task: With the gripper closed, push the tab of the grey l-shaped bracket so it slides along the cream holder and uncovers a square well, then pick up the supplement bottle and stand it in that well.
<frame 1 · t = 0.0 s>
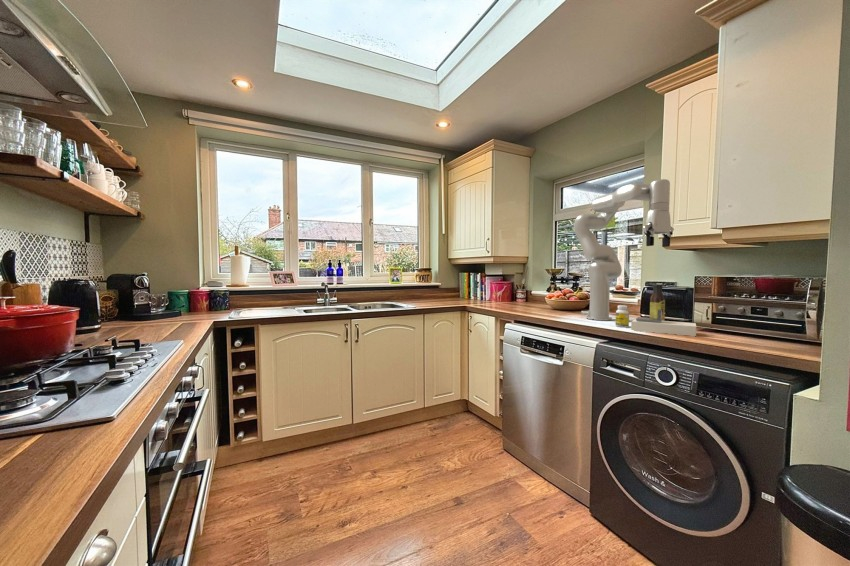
hand: (658, 246, 154), 37 cm above the countertop, tool pointing down, fingers open, 9 cm apart
supplement bottle: (622, 326, 160), on the countertop
holder: (662, 331, 146), on the countertop
grey l-shaped bracket: (649, 315, 149), point 7 cm above the countertop, slide at 0.0 cm
sauce bottle: (656, 323, 171), on the countertop
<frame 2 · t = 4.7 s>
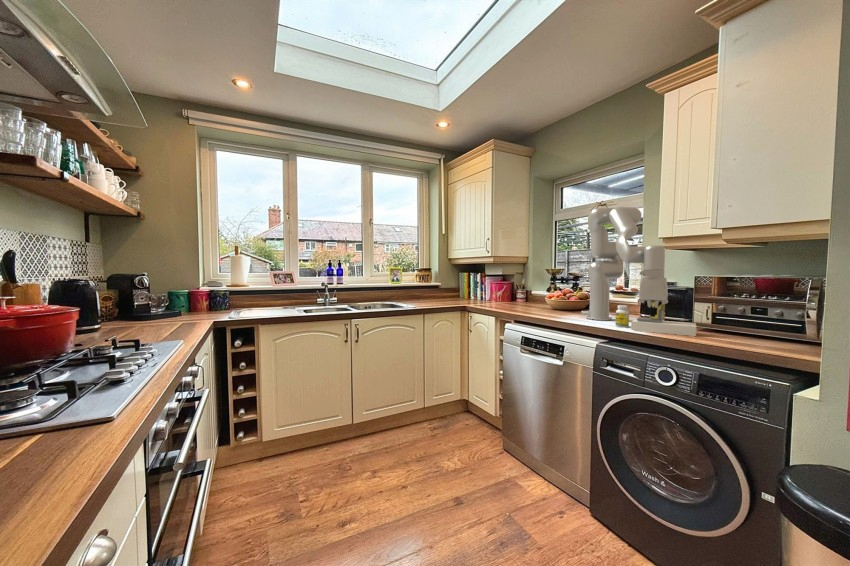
hand: (652, 316, 148), 6 cm above the countertop, tool pointing down, fingers closed
grey l-shaped bracket: (650, 315, 149), point 7 cm above the countertop, slide at 0.3 cm, touching gripper
everything else where it was.
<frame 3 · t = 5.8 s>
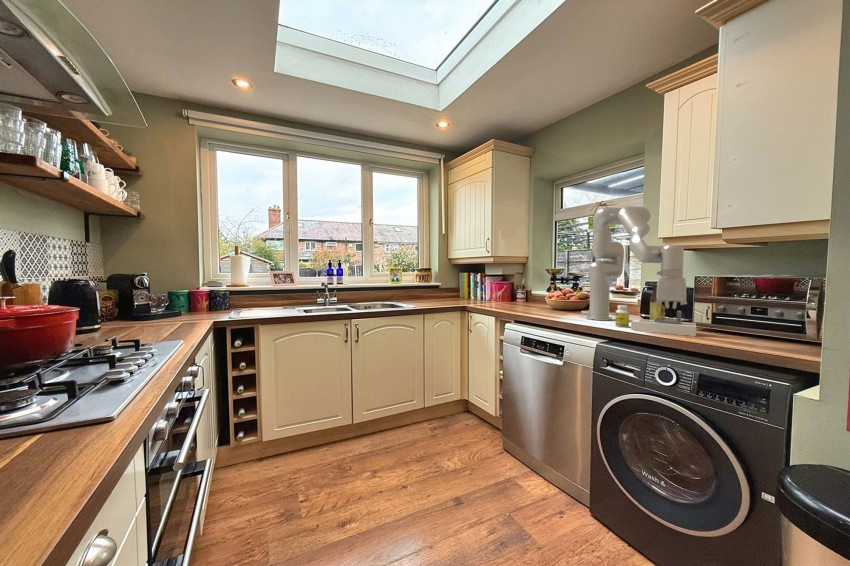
hand: (670, 317, 144), 6 cm above the countertop, tool pointing down, fingers closed
grey l-shaped bracket: (668, 316, 145), point 7 cm above the countertop, slide at 6.7 cm, touching gripper
everything else where it was.
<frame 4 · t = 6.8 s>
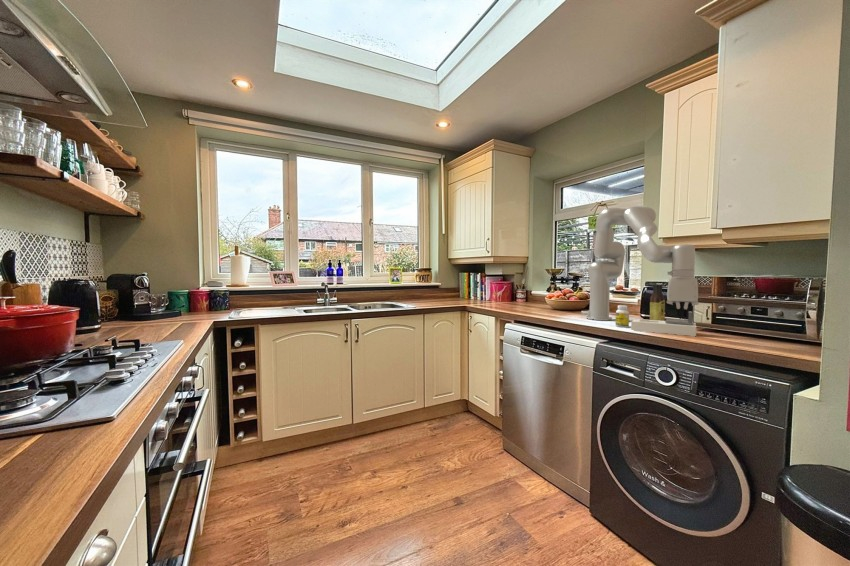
hand: (681, 318, 142), 6 cm above the countertop, tool pointing down, fingers closed
grey l-shaped bracket: (679, 317, 143), point 7 cm above the countertop, slide at 10.4 cm, touching gripper
everything else where it was.
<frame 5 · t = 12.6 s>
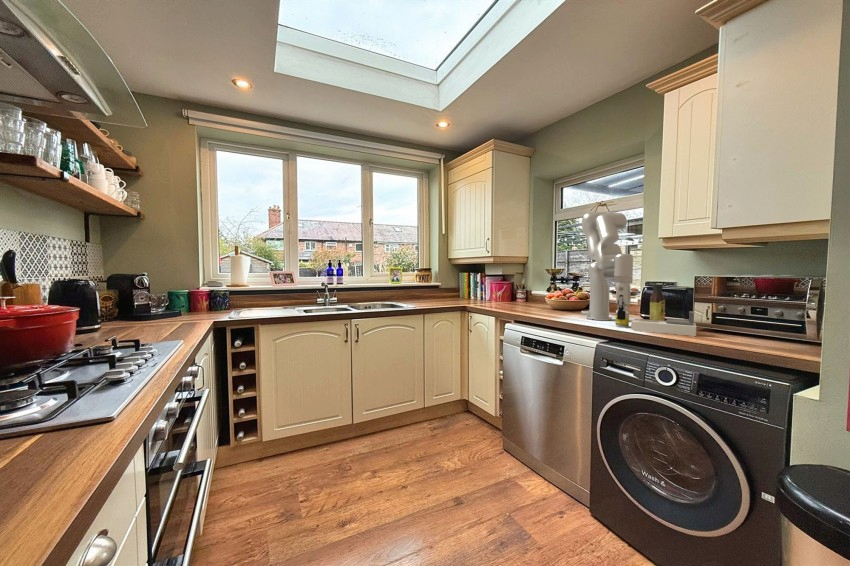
hand: (622, 318, 160), 4 cm above the countertop, tool pointing down, fingers closed on supplement bottle, 5 cm apart
supplement bottle: (622, 326, 160), on the countertop, touching gripper
grey l-shaped bracket: (679, 317, 142), point 7 cm above the countertop, slide at 10.7 cm
everything else where it was.
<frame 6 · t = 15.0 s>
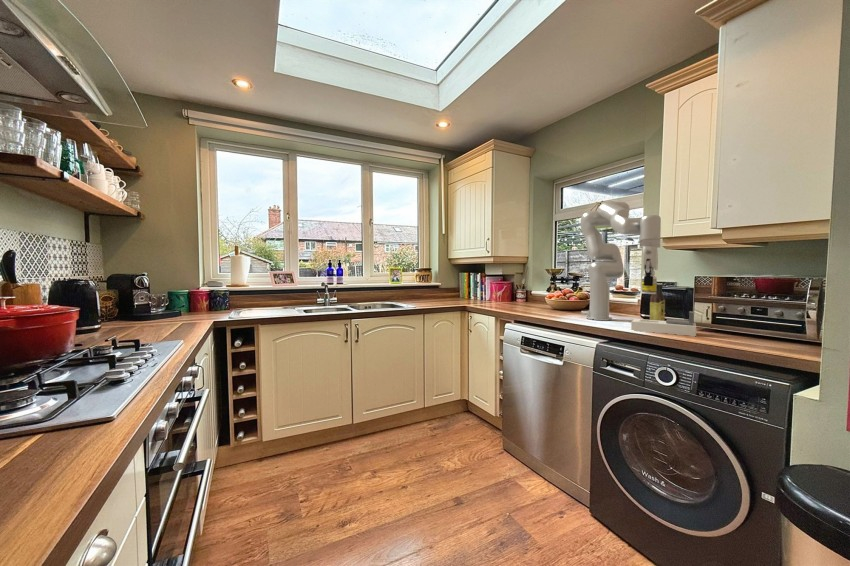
hand: (649, 285, 149), 20 cm above the countertop, tool pointing down, fingers closed on supplement bottle, 5 cm apart
supplement bottle: (648, 294, 149), point 16 cm above the countertop, touching gripper
everything else where it was.
when the fingers open (5 cm above the countertop, at t = 17.4 s): supplement bottle drops 1 cm, resting in holder.
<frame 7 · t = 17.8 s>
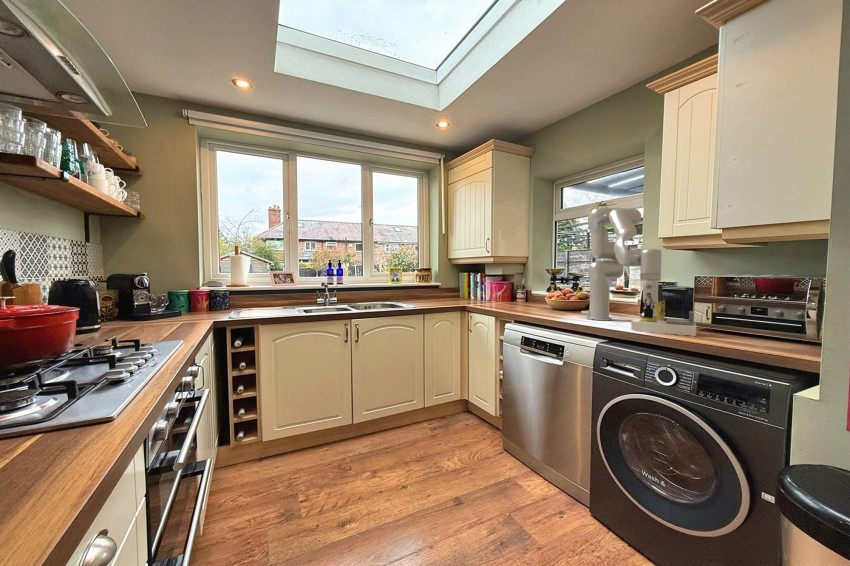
hand: (649, 316, 149), 6 cm above the countertop, tool pointing down, fingers open, 9 cm apart
supplement bottle: (648, 330, 149), resting in holder
everything else where it was.
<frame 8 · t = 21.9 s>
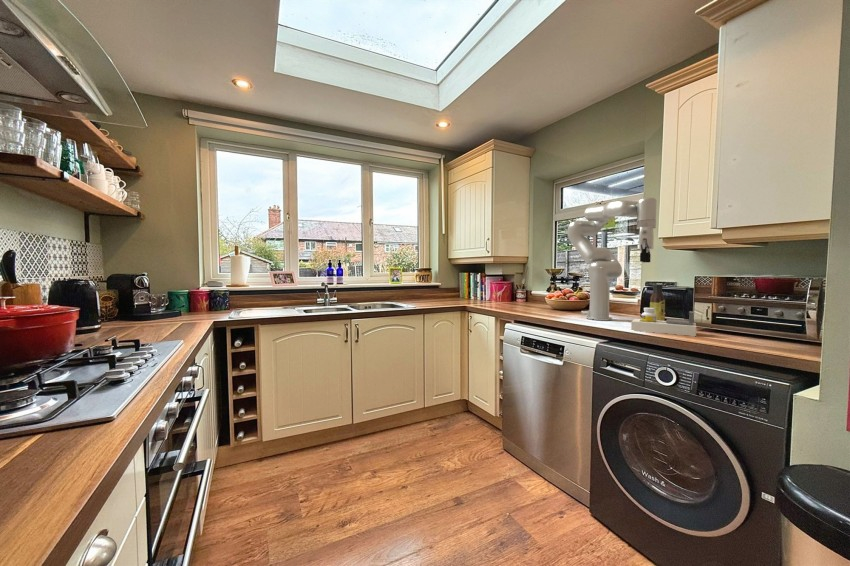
hand: (645, 262, 159), 30 cm above the countertop, tool pointing down, fingers open, 9 cm apart
nothing on the countertop moved.
at the end: grey l-shaped bracket slide at 10.7 cm; supplement bottle 0.1 cm from the target spot on the holder, point 0.0 cm above the holder's base; supplement bottle tilted 0° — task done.
